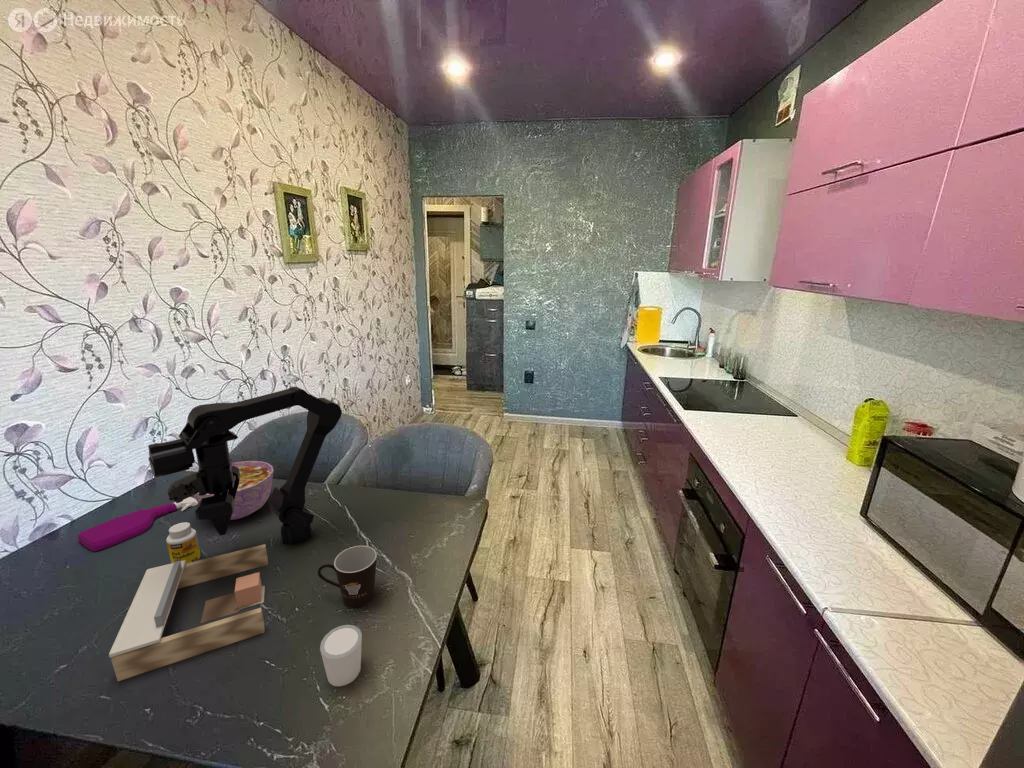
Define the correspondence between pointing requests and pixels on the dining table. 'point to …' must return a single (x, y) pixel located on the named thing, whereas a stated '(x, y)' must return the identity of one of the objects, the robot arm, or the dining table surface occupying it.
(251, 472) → the bowl of food
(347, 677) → the white cylinder
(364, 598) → the coffee mug
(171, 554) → the supplement bottle
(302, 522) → the robot arm
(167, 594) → the lid
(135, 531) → the spray bottle
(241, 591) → the coral block
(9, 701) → the dining table surface
